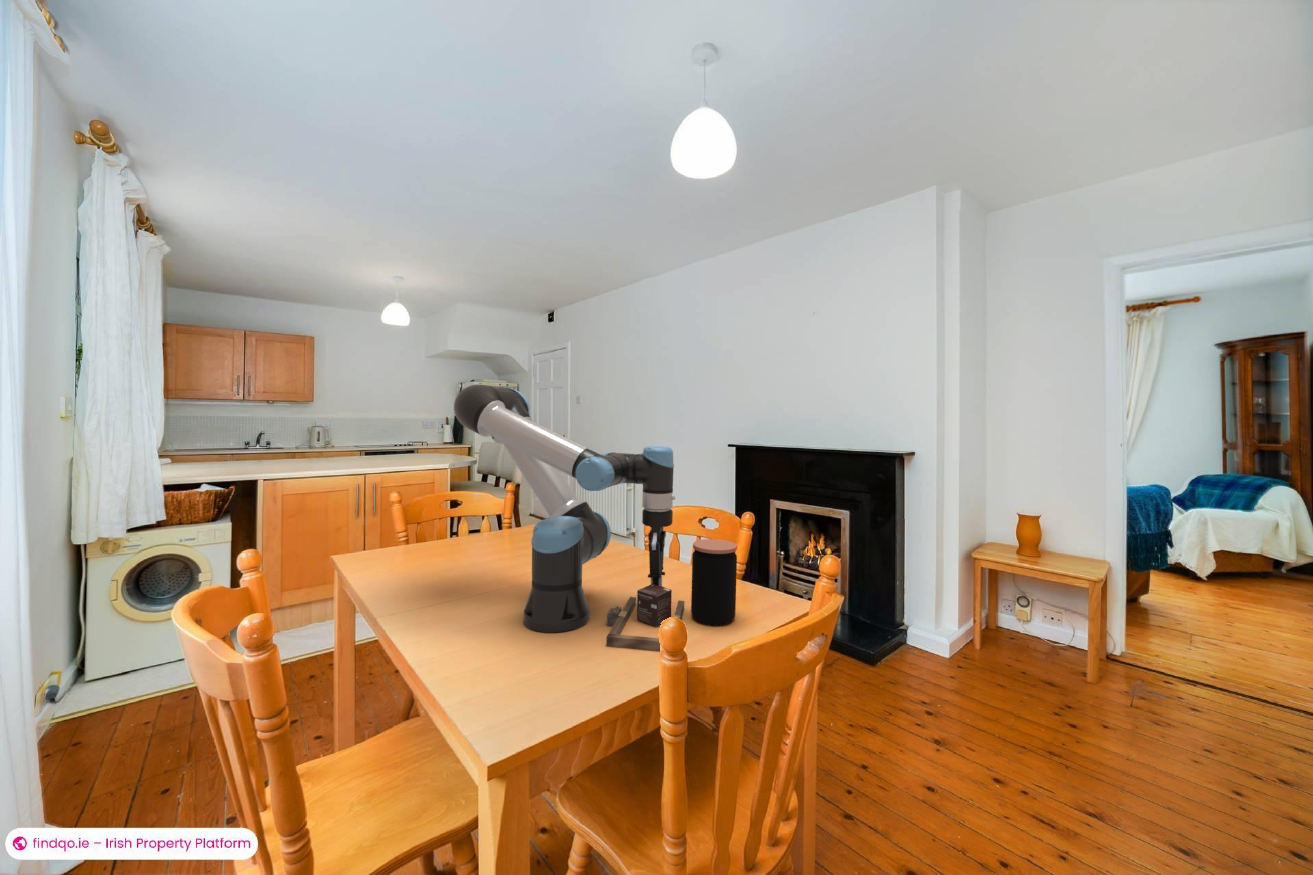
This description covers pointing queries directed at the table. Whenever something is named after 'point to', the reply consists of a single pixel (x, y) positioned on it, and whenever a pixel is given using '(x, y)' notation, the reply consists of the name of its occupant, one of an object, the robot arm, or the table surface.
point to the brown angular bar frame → (619, 620)
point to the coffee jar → (714, 581)
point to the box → (653, 604)
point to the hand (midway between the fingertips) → (656, 601)
